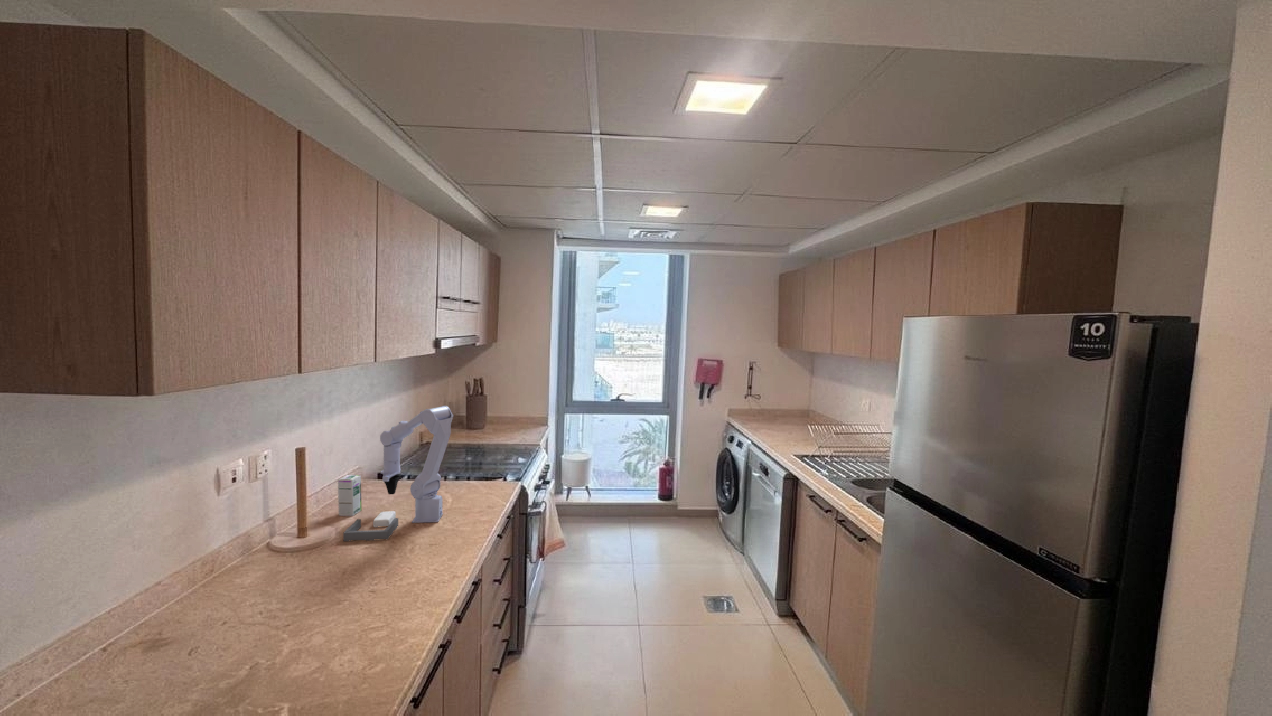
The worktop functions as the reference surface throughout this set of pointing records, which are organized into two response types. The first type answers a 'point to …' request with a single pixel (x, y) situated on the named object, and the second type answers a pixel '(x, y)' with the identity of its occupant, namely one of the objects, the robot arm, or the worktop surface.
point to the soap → (384, 519)
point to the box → (368, 532)
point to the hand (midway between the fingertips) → (391, 493)
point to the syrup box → (349, 495)
